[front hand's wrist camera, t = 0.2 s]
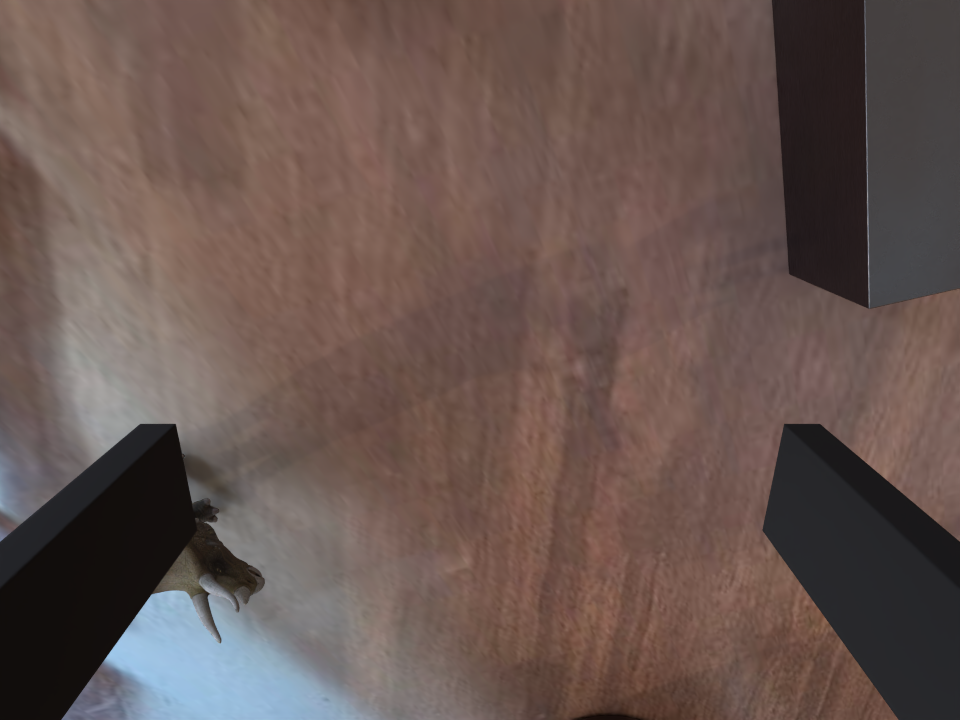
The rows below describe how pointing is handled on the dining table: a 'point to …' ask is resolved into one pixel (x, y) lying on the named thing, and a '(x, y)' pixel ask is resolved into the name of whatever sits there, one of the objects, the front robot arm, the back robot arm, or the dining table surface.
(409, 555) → the dining table surface
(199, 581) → the toy dinosaur
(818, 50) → the bar
